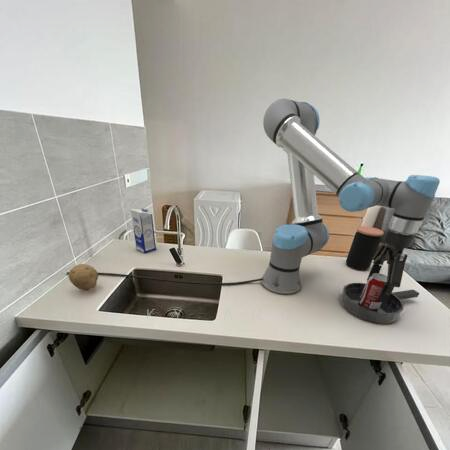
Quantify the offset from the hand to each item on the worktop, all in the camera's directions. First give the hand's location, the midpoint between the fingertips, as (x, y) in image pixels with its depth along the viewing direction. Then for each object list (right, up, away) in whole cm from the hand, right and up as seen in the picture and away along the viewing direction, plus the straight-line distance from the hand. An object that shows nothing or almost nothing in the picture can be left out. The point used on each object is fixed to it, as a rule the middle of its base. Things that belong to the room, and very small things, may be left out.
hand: (376, 290), depth 84 cm
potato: (-103, 0, +5) cm, 103 cm away
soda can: (-1, -6, +4) cm, 7 cm away
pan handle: (+14, -3, +7) cm, 16 cm away
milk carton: (-92, +19, +37) cm, 101 cm away
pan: (-1, -6, +4) cm, 7 cm away
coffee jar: (+11, +11, +33) cm, 36 cm away
